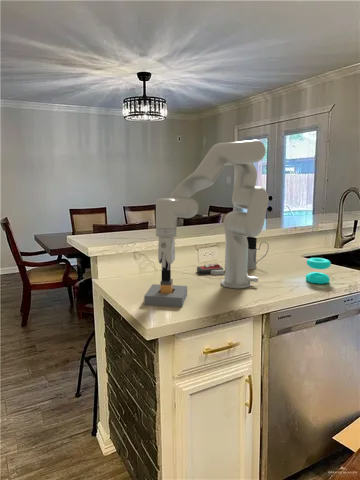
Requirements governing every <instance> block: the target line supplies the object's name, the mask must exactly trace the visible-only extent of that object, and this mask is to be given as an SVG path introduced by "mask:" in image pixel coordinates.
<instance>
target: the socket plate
mask: <svg viewBox="0 0 360 480" xmlns="http://www.w3.org/2000/svg"><path fill="white" fill-rule="evenodd" d="M143 297H144V298H143V300H144V302H143V305H144V306H152V307H153V306H155V307H156V306H157V307H170V308H171V307H175V308H183V307H184V304H185V302H186V300H187V297H188V285H174V284H173V293H161V285H160V284H157V283H156V284H154V283H153V284H152V285H151V286H150V287H149V289H148V290H147V291H146V293H145V294H144V295H143Z"/></svg>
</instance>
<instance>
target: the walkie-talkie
mask: <svg viewBox="0 0 360 480" xmlns="http://www.w3.org/2000/svg"><path fill="white" fill-rule="evenodd" d="M196 268H197V269H196V272H197V274H199V275H201V276H202V275H203V276H204V275H205V276H206V275H212V276H223V275H224V276H225V270H224V267H222V266H221V265H220V264H219V263H217V262H216V263H215V262H213V263H208V265H206V264H203V265H201V266H196Z"/></svg>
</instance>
